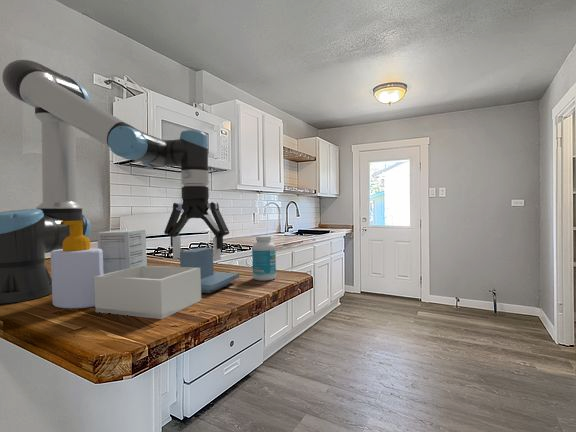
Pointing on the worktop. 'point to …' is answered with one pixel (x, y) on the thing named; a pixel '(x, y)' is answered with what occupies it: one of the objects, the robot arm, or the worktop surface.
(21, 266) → the robot arm
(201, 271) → the lid
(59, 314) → the worktop surface
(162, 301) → the tub
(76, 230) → the soap bottle
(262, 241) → the pill bottle
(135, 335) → the worktop surface
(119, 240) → the supplement box
